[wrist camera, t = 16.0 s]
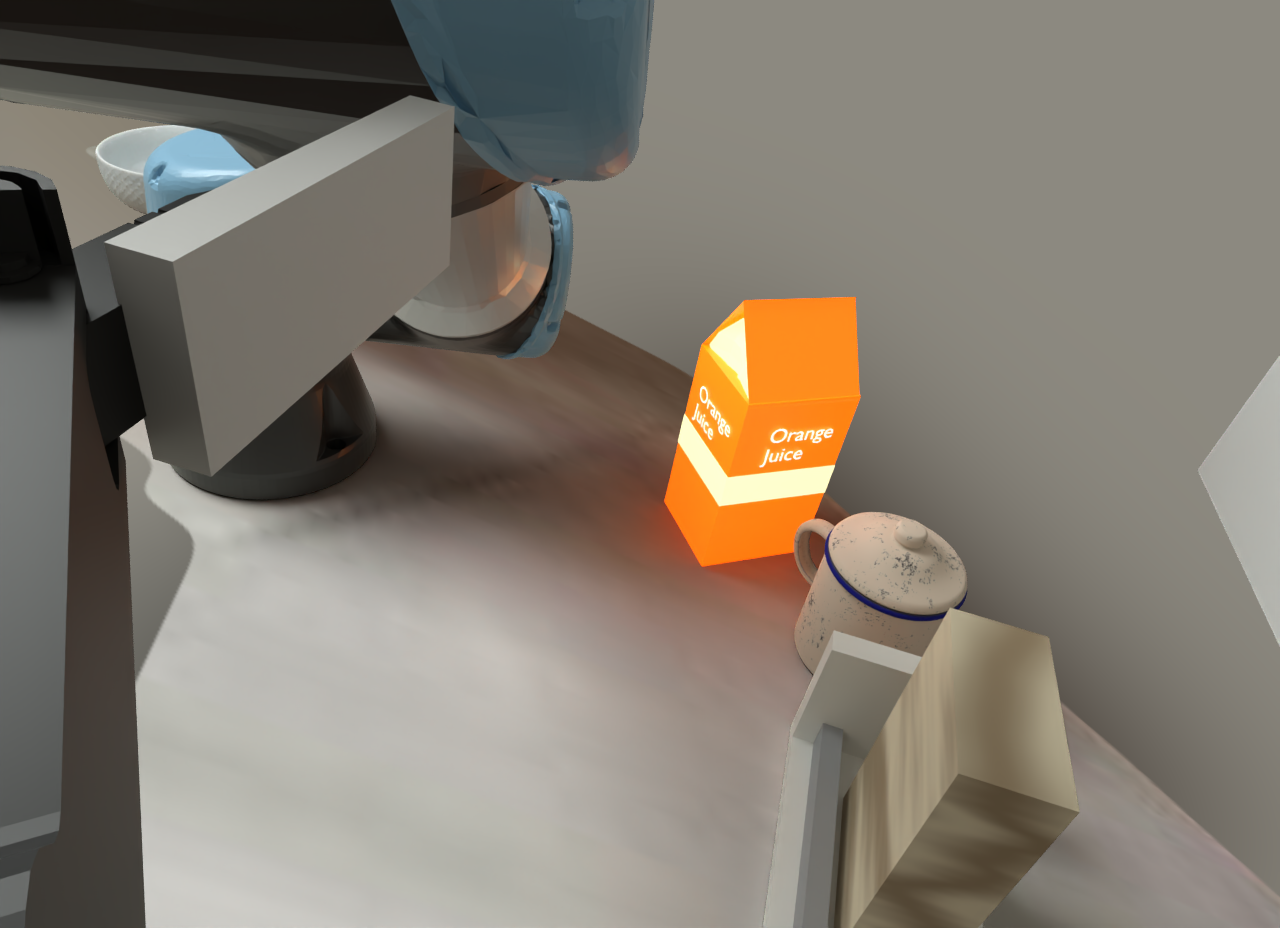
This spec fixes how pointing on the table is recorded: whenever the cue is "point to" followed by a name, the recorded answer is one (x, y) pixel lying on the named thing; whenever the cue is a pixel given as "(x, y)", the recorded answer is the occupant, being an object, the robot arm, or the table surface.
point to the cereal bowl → (131, 161)
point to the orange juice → (764, 426)
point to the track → (828, 773)
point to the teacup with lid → (876, 583)
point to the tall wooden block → (957, 783)
